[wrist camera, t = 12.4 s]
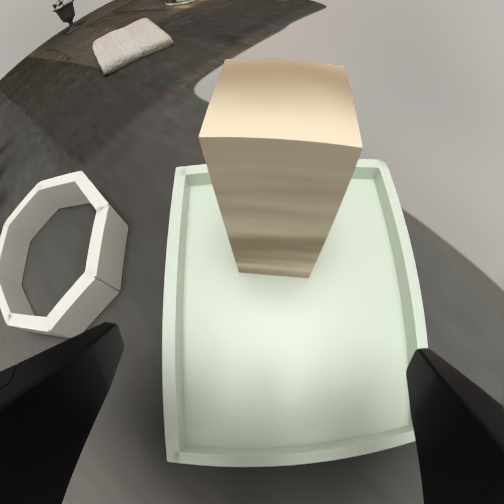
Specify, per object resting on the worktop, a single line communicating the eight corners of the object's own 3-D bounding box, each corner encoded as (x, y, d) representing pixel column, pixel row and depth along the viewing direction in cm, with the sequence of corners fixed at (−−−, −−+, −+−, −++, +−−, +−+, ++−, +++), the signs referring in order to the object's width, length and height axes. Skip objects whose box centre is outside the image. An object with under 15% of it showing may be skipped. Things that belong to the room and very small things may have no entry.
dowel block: (308, 278, 18) (362, 147, 7) (238, 272, 18) (198, 136, 7) (310, 216, 20) (344, 66, 9) (246, 211, 20) (225, 59, 9)
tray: (412, 429, 14) (429, 435, 12) (179, 450, 15) (167, 461, 13) (376, 178, 22) (385, 160, 20) (184, 186, 23) (176, 167, 20)
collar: (117, 342, 18) (90, 336, 15) (10, 328, 18) (-15, 320, 15) (135, 187, 23) (119, 162, 20) (35, 205, 23) (16, 188, 20)
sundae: (87, 23, 49) (73, -15, 35) (68, 35, 47) (52, -3, 33) (79, 24, 50) (64, -11, 36) (61, 36, 48) (45, 0, 35)
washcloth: (148, 25, 40) (145, 13, 37) (177, 47, 34) (173, 31, 31) (94, 51, 38) (89, 39, 35) (105, 80, 32) (98, 65, 29)
